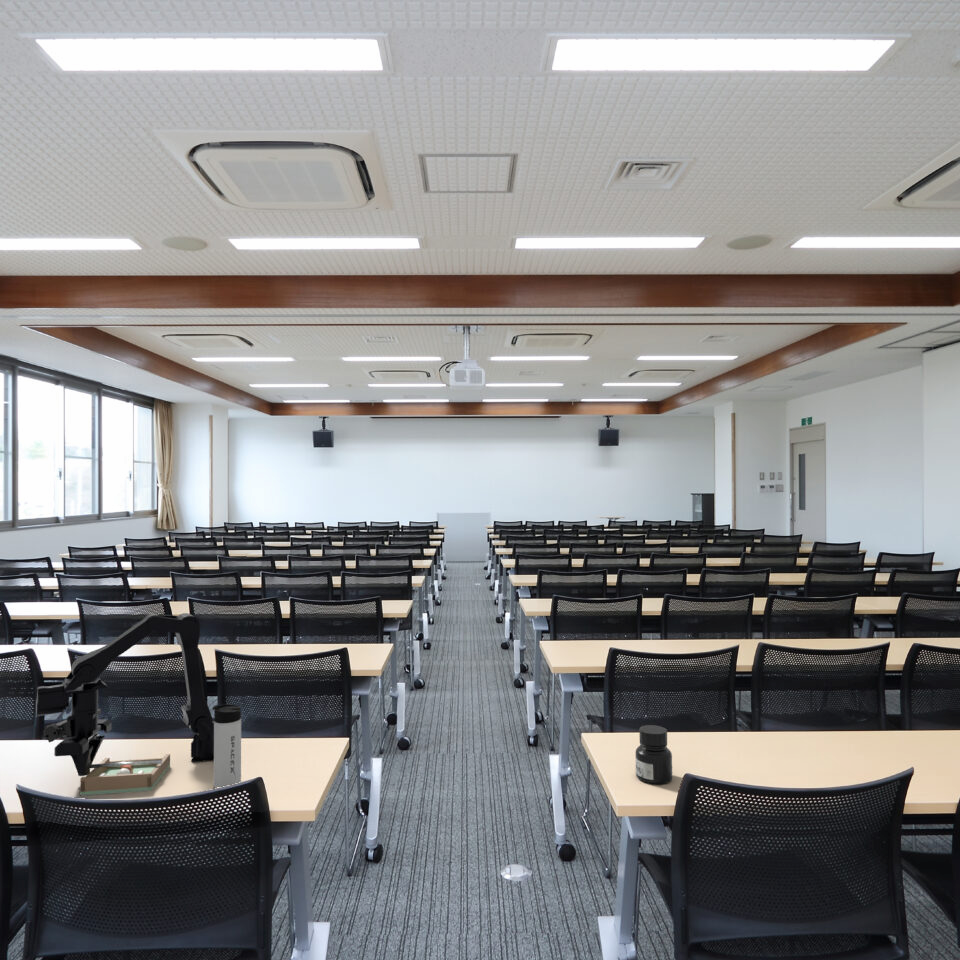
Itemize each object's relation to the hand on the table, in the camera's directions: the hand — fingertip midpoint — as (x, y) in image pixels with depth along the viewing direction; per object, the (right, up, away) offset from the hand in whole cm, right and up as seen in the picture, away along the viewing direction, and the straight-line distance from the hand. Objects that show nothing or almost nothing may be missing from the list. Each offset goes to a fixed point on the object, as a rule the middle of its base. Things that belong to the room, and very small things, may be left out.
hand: (84, 771), depth 167 cm
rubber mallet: (+8, -2, +1) cm, 9 cm away
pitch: (+10, -3, +2) cm, 10 cm away
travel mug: (+37, -3, -4) cm, 37 cm away
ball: (+10, -1, -1) cm, 10 cm away
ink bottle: (+143, -2, +1) cm, 143 cm away
